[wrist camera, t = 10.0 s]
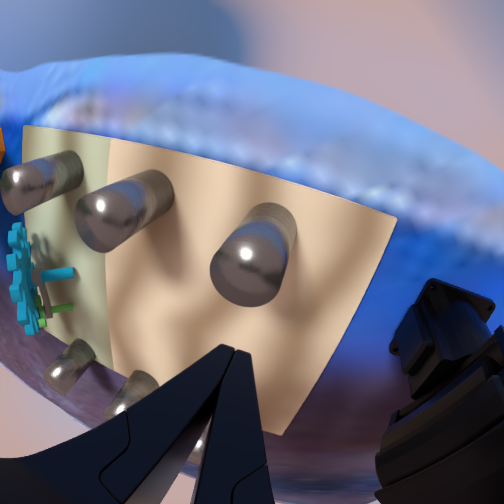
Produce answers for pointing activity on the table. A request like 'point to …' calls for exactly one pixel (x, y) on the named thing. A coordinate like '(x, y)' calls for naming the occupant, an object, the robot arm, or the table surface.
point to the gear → (31, 283)
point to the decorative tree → (1, 145)
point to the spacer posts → (132, 221)
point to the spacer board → (202, 270)
